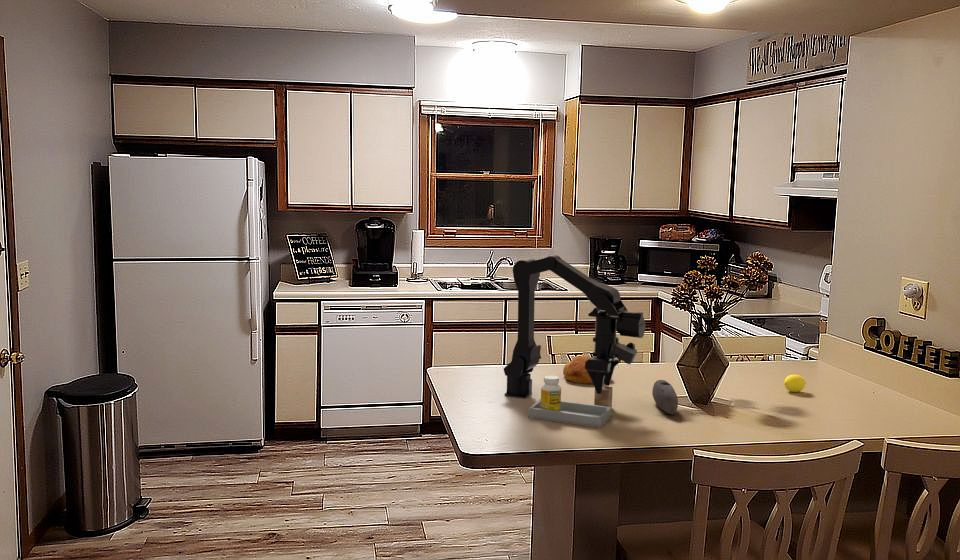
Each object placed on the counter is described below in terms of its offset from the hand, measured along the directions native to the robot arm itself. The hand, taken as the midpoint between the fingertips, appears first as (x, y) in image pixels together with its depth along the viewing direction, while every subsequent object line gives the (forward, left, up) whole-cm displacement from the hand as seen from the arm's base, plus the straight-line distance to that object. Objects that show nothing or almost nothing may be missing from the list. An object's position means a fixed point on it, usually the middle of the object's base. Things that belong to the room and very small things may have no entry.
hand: (603, 389), depth 220 cm
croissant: (-13, +30, -6) cm, 33 cm away
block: (0, 0, -6) cm, 6 cm away
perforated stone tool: (+16, +7, -6) cm, 18 cm away
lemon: (+48, +44, -6) cm, 65 cm away
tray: (-6, -12, -6) cm, 14 cm away
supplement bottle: (-11, -12, -5) cm, 17 cm away
